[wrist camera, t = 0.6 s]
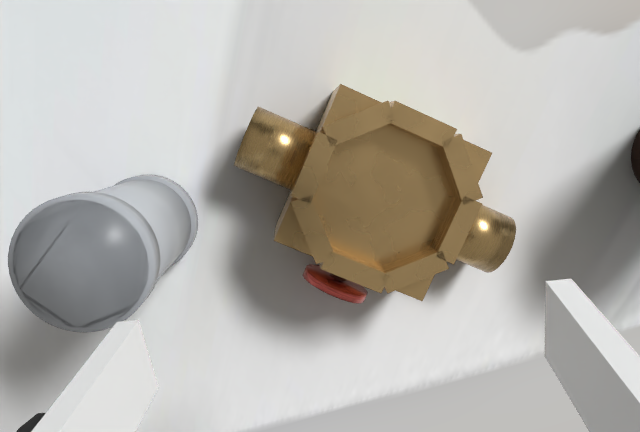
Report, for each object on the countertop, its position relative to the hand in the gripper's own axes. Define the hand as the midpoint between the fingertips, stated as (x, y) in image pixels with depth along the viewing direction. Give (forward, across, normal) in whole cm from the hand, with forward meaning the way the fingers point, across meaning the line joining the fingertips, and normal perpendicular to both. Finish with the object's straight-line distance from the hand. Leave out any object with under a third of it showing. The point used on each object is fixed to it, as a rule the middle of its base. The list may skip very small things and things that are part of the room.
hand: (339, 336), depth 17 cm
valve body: (+20, +2, -1) cm, 20 cm away
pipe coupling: (+18, -14, -1) cm, 22 cm away
